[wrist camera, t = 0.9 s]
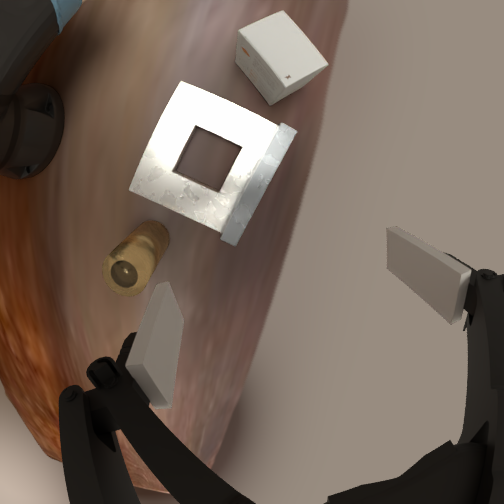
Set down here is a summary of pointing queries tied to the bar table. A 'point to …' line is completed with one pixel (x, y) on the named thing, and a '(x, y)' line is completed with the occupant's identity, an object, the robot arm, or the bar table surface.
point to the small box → (277, 56)
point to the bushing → (135, 259)
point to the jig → (240, 175)
